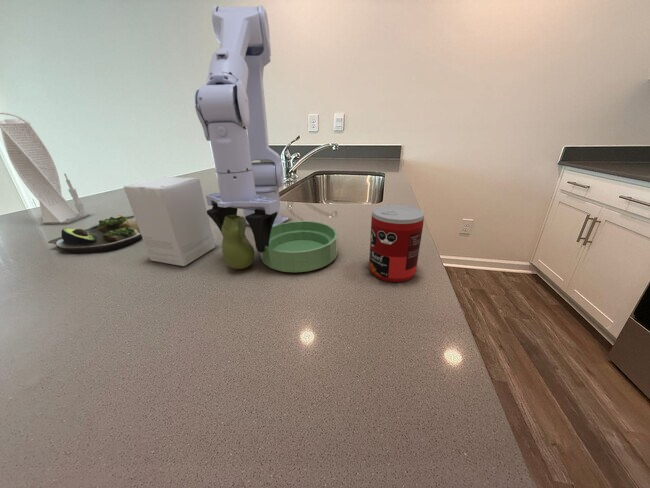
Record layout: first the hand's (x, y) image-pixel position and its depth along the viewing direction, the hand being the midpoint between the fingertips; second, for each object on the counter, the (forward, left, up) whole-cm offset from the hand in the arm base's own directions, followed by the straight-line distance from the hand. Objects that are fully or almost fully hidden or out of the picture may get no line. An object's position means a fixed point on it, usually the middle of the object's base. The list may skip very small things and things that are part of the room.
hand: (247, 246), depth 47 cm
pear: (-1, -2, -4) cm, 4 cm away
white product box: (-15, -3, -4) cm, 16 cm away
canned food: (+25, +9, -4) cm, 26 cm away
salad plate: (-39, -6, -4) cm, 40 cm away
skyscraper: (-67, -5, -4) cm, 68 cm away
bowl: (+7, +7, -4) cm, 10 cm away
